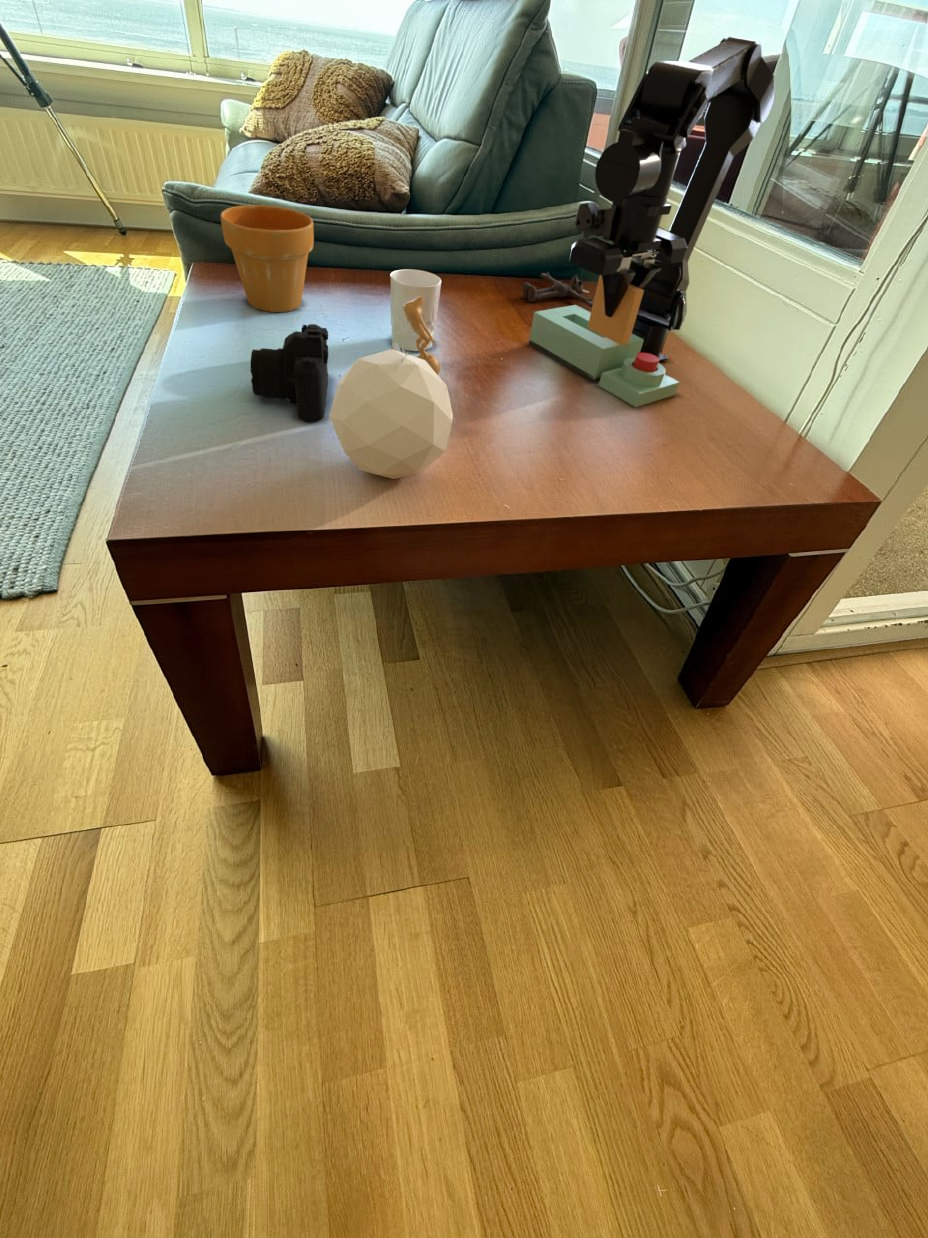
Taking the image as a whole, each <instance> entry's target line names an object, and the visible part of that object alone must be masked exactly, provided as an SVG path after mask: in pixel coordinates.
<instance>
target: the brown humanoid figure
mask: <svg viewBox="0 0 928 1238" xmlns="http://www.w3.org/2000/svg"><path fill="white" fill-rule="evenodd" d="M540 277H541V278H542V279H543V280H545V281H547V282H549V283H551V284H552V286H551V287H544V288H540V289H537V288H536V287H535V285H532V284H531V283H530V282H523V284H522V297H523V299H525V300H528V302H529V303H533V302H535V301H539V300H542V301H543V300H545V299H548V298H553V297H555V298H558V299H559V298H560V299H561V298H564V297H572V298H574V299H576V300H579V301H580V302H581V303H583V304H584V305H586V306H587V307H589V308H592V306H593V302H594V301H593V297H592V298H591V297H590V298H587V297H585V296H583V295H582V294H587V295H588V294H590V290H585V289H584V285H583V281H582V280H581V279H579V278H578V277H579V275H578V274H575V275H573V276H572V277H571V280H570V283H567V282H565V281H561V280H560V281H559V280H556V279H555V278H553V277H552V276H551V275H550V273H549V271H547V272H546V273H545V272H542V273H540Z"/></svg>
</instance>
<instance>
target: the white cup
mask: <svg viewBox="0 0 928 1238" xmlns="http://www.w3.org/2000/svg"><path fill="white" fill-rule="evenodd" d="M389 278H390V323H391V324H390V325H391V343H393V344H394V343H396V345H397V343H398V344H399V347H400V349H402V345H403V349H404V350H405V348H406V351H411V352H420V351H419V350H418V348H417V343H416V341H417V339H418V338H420V336H419V335H418V334H417V333H416V332H414V330H413V328H412V326H411V323H410V321H409V320H407V316H406V314H405V312H404V309H403V306H404V305H405V304H406V303H407V302H410V301H413V300H415V299H416V298H418V297H419V296H421V297H422V298H423V302H424V304H423V305H422V307H421V310H422V319H423V322H424V323H425V325H426V328H427V329H428V330H429V332H430V334H431V336H432V337H433V338H434V339H435V337H434V336H435V330H436V325H437V318H438V312H439V305H440V298H441V297H440V295H441V289H442V281H443V280H442V278H441V277H440V276H438V275H436V274H434V273H432V272H429V271H425V270H420V269H411V268H409V269H408V268H407V269H404V268H403V269H398V270H394V271H392V272H391V273H390V275H389ZM408 321H409V322H408ZM421 327H422V325H421ZM422 328H423V327H422ZM423 330H424V329H423ZM424 331H425V330H424ZM423 343H425V341H424V340H422V342H421V343H420V344H419V345H420V347H421V345H422V344H423ZM432 346H434V344H432V342H431V340H430V342H429V344H428V345H427V346H426V348H424V351H427V350H430V349H431V348H432Z"/></svg>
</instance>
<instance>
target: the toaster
mask: <svg viewBox="0 0 928 1238" xmlns="http://www.w3.org/2000/svg"><path fill="white" fill-rule="evenodd" d="M590 315H591V311H588V310H587V309H585V308H583V307H581V306H579V305H577V304H573V305H566V306H562V307H561V306H560V307H555V308H549V309H543V310H537V311H534V312H533V317H532V323H531V327H530V333H529V338H528V343H527V345H528V346H529V347H532V348H533V349H535V350H537V351H538V352H539V353H541V354H544V355H546V356H547V357H548V358H550V359H552V360H554V361H556V362H557V363H558V364H561V365H562V366H564V367H566V368H568V369H569V370H571V371H573V372H574V373H576V374H578V375H579V376H581V377H583V378H584V379H586V380H588V381H590V382H591V383H593V384H594V383H598V382H600V379H601V375H602V372H606V371H610V370H614V369H618V368H622V367H623V364H624V361H625V360H626V359H627V358H632V357H636V355H637V354H638V353H640V351H641V347H642V344H643V341H644V339H642V338H640V337H638V336H636V335H634V334H632V333H631V337H630V340H629V343H628V344H624V345H620V344H618V343H616V342H614V341H612V340H610V339H608V338H606V337H604V336H602V335H600V334H598V333H596V332H594V331H592V330H591V329H589V328H587V327H588V323H589V319H590Z"/></svg>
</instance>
